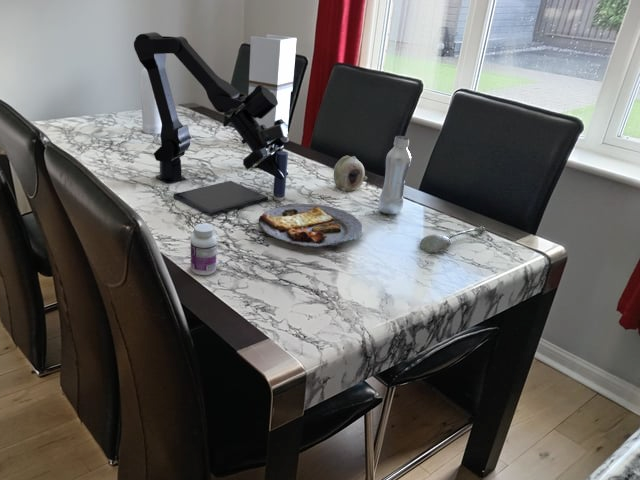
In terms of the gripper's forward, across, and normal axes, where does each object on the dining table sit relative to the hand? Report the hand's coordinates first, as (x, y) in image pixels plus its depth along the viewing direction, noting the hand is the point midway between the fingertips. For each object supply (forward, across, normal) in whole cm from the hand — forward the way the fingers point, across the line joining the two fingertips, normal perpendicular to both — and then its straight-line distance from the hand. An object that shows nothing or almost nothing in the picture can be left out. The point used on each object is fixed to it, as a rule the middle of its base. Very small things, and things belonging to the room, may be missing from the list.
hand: (285, 177), depth 155 cm
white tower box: (-14, +53, +23) cm, 60 cm away
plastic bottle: (+24, +6, -15) cm, 29 cm away
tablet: (-6, -8, +15) cm, 18 cm away
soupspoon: (+37, -4, -28) cm, 47 cm away
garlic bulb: (+14, +20, -5) cm, 25 cm away
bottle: (-42, +42, +52) cm, 79 cm away
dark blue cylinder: (+4, 0, +6) cm, 7 cm away
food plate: (+14, -17, -4) cm, 22 cm away
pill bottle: (+5, -47, +5) cm, 47 cm away
